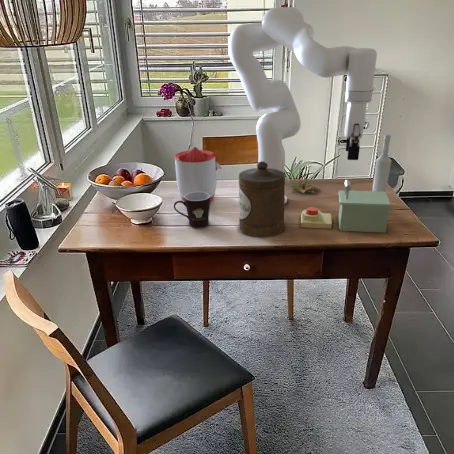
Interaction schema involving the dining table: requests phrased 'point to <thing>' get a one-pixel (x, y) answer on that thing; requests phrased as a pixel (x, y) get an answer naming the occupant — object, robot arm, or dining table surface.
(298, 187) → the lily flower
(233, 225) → the dining table surface
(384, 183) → the bottle
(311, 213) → the button
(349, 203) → the lid
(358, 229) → the compartment
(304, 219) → the control block
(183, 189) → the citrus juicer
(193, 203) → the coffee mug
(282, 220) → the wooden container
